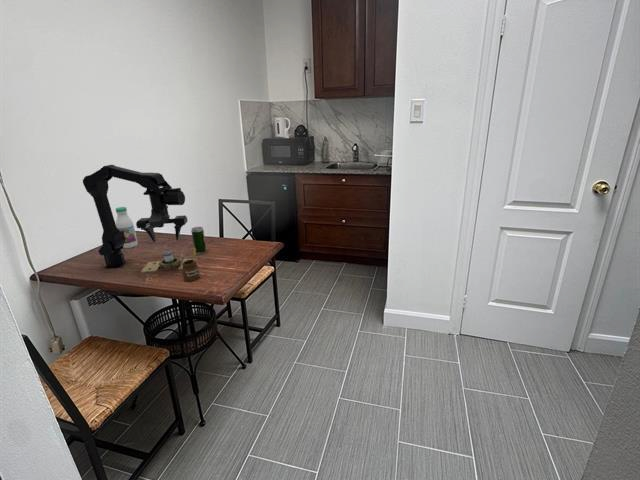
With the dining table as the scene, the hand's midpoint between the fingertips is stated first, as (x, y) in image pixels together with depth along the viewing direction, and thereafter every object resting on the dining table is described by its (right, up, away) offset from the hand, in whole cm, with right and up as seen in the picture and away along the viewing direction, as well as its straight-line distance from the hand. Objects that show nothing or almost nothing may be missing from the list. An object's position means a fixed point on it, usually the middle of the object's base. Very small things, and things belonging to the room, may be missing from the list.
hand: (166, 241), depth 144 cm
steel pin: (0, -11, +4) cm, 12 cm away
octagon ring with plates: (0, -11, +4) cm, 11 cm away
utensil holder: (+14, -15, -8) cm, 22 cm away
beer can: (+8, -6, +18) cm, 21 cm away
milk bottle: (-31, -3, +29) cm, 43 cm away
